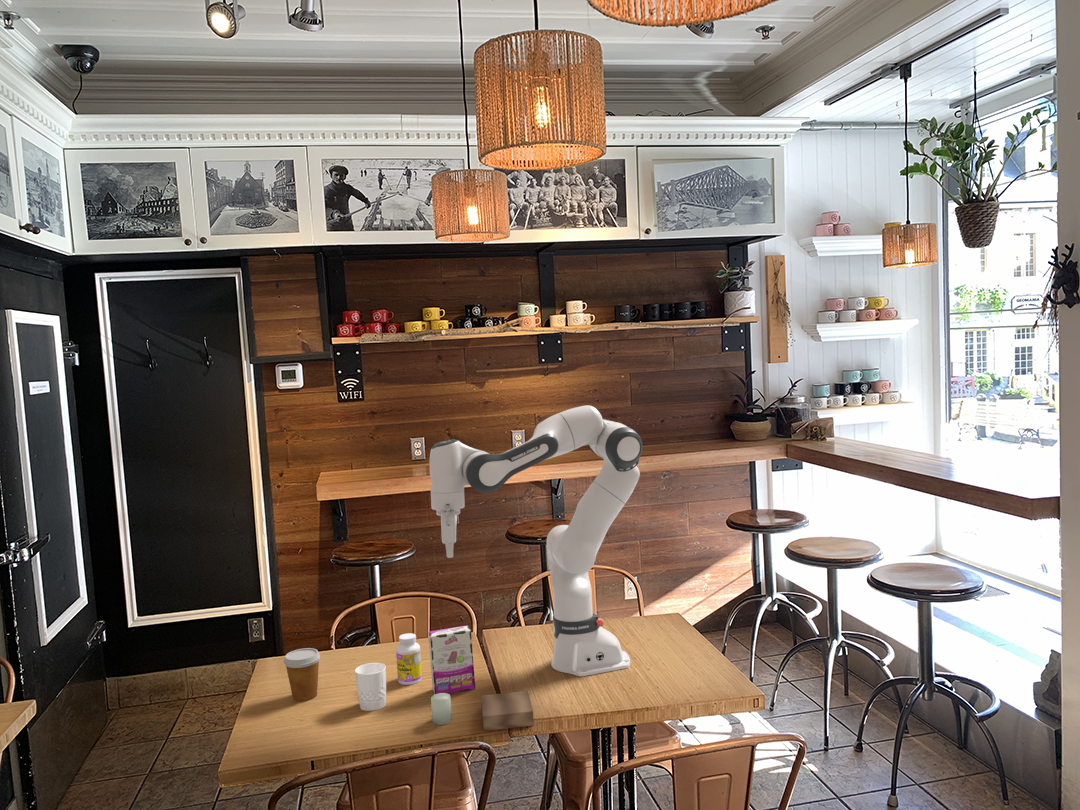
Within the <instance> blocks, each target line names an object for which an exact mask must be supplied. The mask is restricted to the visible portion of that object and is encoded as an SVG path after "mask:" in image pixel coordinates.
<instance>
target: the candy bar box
mask: <svg viewBox="0 0 1080 810" xmlns="http://www.w3.org/2000/svg"><path fill="white" fill-rule="evenodd" d="M427 633H428V644H429V646H428V647H429V655H430V656H429V658H430V668H431V669H430V672H431V683H432V684H431V686H432V690H433V693H434V694H433V695H435V694H438V693H447V694H449V695H451V694H455V693H460V692H465V691H466V692H467V691H471V690H475V689H476V682H475V681H476V680H475V679H476V678H475V677H476V676H475V667H474V653H473V643H472V642H473V639H472V629H470V627H469V625H461V626H456V627H449V628H444V629H436V630H430V631H428V632H427Z"/></svg>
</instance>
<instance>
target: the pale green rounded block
mask: <svg viewBox="0 0 1080 810" xmlns="http://www.w3.org/2000/svg"><path fill="white" fill-rule="evenodd" d="M451 701H452V698H451V694H447V693H438V694H433V695H432V696H430V703H431V721H432V723H433V724H434V725H436V726H437V725H438V726H439V725H440V726H442V725H447V724H449V723H451V721H453V720H452V719H453V717H452V702H451Z"/></svg>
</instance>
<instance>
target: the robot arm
mask: <svg viewBox="0 0 1080 810" xmlns="http://www.w3.org/2000/svg"><path fill="white" fill-rule="evenodd" d="M584 446H587V447H588V449H589V450H590V451H591V452H592V453H593V454H595V455H597V456H598V457H600V458H601V459H603V462H602V463H603V464H602V467H601V469H600V472H599V473H598V474H597V475H596V477H595V479H594V480H593V481H592V482H591V484H590V486H589V487H588V488H587V490H586V491H585V493H584V494H583V495H582V497H581V499H580V500H579V501H578V503H577V505H576V507H575V511H574V514H573V516H572V518H571V520H570V522H569V524H560V525H556V526H554V527H553V528H552V529H550V530H549V532H548V534H547V537H546V540H545V541H546V551H547V552H546V553H547V560H548V567H549V573H550V575H549V576H550V580H551V581H550V582H551V587H552V597H553V598H552V599H553V600H552V601H553V616H552V633H553V636H554V640H553V641H554V642H553V643H554V644H553V655H552V659H551V663H550V666H551V668H552V669H554V670H555V671H557V672H561V673H565V674H570V675H573V676H575V677H586V676H592V675H596V674H602V673H608V672H613V671H618V670H619V671H620V670H624V669H625V670H626V669H628V668H629V667H630V666H631V657H630V656H629V654H628V653H627V652H626V651H625V650H623V649H622V647H621V644H620V641H619V639H618V638H617V636H616V635H615V634H613V633H611V631H609V630H607V629H605V628H604V627H603V626H604V625H605V622H604V620H603V618H601V616H600V615H599V614H597V613H596V612H593V595H592V593H593V592H592V590H593V589H592V585H591V581H590V577H589V576H590V575H589V571H590V570H592V568H593V567H594V564H595V562H596V557H597V554H598V552H599V550H600V548H601V545H602V543H604V542H603V541H604V540H605V537H606V535H607V532H608V531H609V529H610V527H611V526H612V524H613V522H614V521H615V519H616V518H617V517H618V515H619V513H620V512H621V511H622V509H623V508H624V506H625V505H626V503H627V502H628V500H629V499H630V498H631V496H632V494H633V492H634V490H635V489H636V486H637V484H638V482H639V480H640V477H641V476H640V474H641V473H640V469H639V467H638V464H639V461H640V458H641V455H642V453H643V447H644V446H643V440H642V438H641V436H640V435H639V433H637V431H635V430H634V429H632V428H631V427H628V426H627V425H626V424H623V423H622V422H616V421H613V420H611V419H607V418H606V419H605V418H603V416H602V414H601V413H600V411H599V410H598V409H597V408H596V407H594V406H592V405H580V406H576V407H573V408H569V409H566V410H563V411H561V412H558V413H556V414H553V415H551V416H549V417H547V418H545V419H544V420H542V421H540V422H539V423H538V424H537V425H536V426H535V428H534V430H533V434H532V436H531V438H529V440H527V441H525V442H523V443H522V444H519V445H518V446H515V447H512V448H510V449H509V450H507V451H505V452H502V453H501V452H500V453H496V454H495V453H488V452H487V451H484V450H482V449H477V448H473V447H472V446H471V447H470V446H468V445H467V444H464V443H462V442H461V441H460V440H458V439H447V440H443V441H439V442H437V443H435V444H433V446H432V447H431V448H430V454H429V476H430V481H431V486H430V502H431V503H430V505H431V506H430V507H431V509H432V511H436V516H439V517H440V527H441V528H440V529H441V531H440V532H441V542H442V544H443V545H445V551H446V555H445V556H446V557H447V558H448V559H452V558H454V544H455V543H456V542H457V522H458V521H457V520H458V515H460V514H461V509H464V508H465V507H466V505H465V504H466V503H465V502H466V501H465V487H466V486H470V487H471V488H472V489H473V490H474V491H476V492H478V493H481V494H492V493H494V492H496V491H497V490H499V489H501V488H502V487H503V486H504V484H506V482H507V481H508V480H509V479H510V478H512V477H513V476H514V475H516V474H518V473H520V472H522V471H525V470H526V469H528V468H530V467H533V466H535V465H537V464H539V463H540V462H543V461H546V460H550V459H553V458H555V457H558V456H563V455H565V454H568V453H570V452H572V451H575V450H577V449H579V448H582V447H584Z"/></svg>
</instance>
